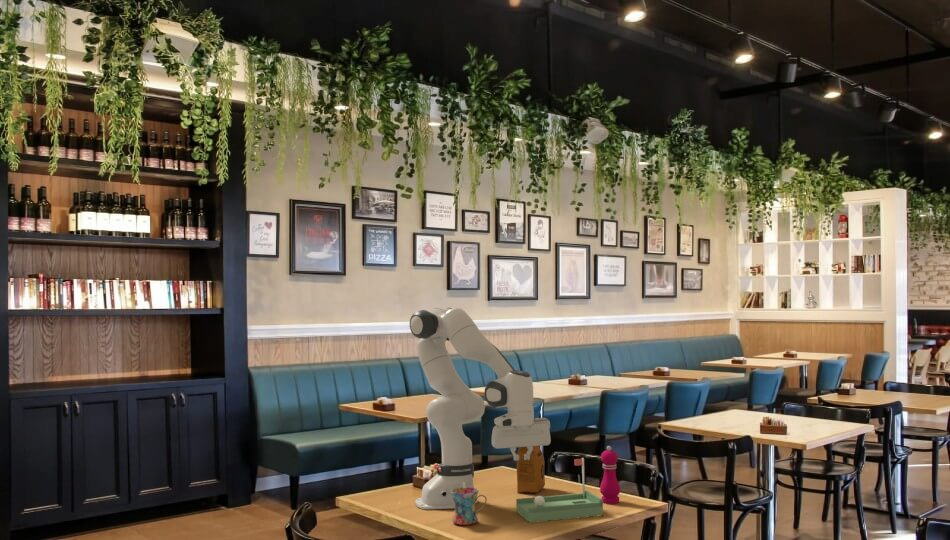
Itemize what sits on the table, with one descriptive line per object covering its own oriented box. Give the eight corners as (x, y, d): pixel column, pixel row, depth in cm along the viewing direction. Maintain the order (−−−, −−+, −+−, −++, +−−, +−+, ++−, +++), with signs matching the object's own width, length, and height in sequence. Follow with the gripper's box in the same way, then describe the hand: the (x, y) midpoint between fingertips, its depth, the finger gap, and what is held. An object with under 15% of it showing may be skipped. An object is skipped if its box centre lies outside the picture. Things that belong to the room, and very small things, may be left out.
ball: (536, 508, 274) (536, 497, 274) (532, 505, 277) (532, 495, 278) (546, 507, 275) (546, 496, 275) (542, 505, 278) (542, 494, 278)
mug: (448, 526, 265) (447, 493, 266) (454, 518, 274) (453, 487, 275) (484, 527, 263) (484, 494, 263) (489, 519, 272) (488, 487, 273)
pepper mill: (607, 505, 288) (606, 448, 288) (596, 501, 294) (595, 445, 295) (624, 503, 291) (623, 446, 291) (613, 498, 297) (611, 443, 298)
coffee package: (549, 488, 316) (548, 431, 316) (537, 495, 304) (536, 436, 305) (525, 486, 320) (524, 429, 321) (513, 493, 309) (512, 434, 309)
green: (529, 522, 268) (528, 470, 268) (516, 512, 281) (515, 462, 282) (602, 515, 274) (601, 464, 275) (586, 505, 288) (585, 457, 289)
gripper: (546, 415, 281) (547, 456, 281) (489, 419, 276) (490, 460, 276) (553, 418, 275) (553, 459, 275) (494, 422, 270) (495, 464, 270)
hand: (521, 460), depth 275 cm, fingers closed
